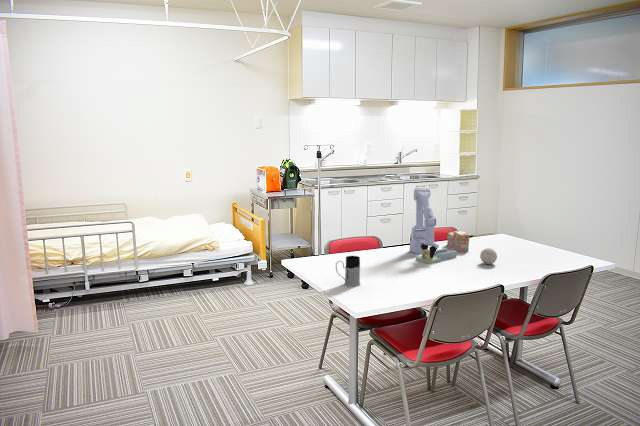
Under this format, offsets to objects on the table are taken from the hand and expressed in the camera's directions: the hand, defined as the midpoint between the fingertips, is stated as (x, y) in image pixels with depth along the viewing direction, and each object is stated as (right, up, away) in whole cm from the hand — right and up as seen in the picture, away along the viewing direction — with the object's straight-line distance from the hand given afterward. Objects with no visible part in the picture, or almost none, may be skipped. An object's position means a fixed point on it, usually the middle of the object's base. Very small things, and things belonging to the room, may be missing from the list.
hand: (428, 256), depth 330 cm
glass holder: (-54, -11, -49) cm, 74 cm away
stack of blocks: (+28, +3, +34) cm, 44 cm away
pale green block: (+7, -2, +5) cm, 9 cm away
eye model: (+36, -4, -5) cm, 37 cm away
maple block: (-1, -1, 0) cm, 1 cm away
